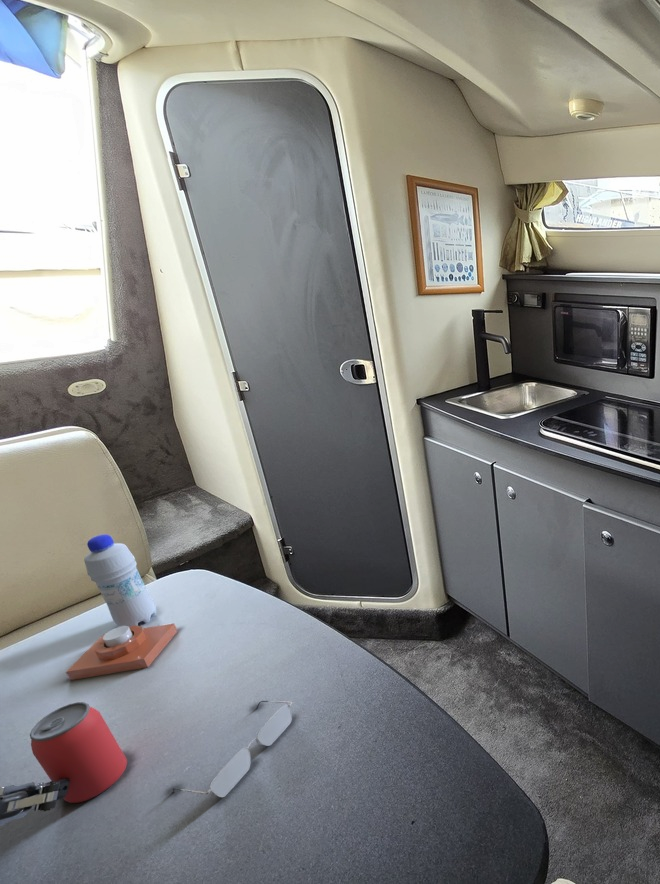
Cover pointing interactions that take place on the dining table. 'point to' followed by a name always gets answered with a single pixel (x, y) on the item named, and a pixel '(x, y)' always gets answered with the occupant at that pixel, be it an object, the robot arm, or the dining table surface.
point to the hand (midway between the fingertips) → (61, 788)
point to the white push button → (117, 636)
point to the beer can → (78, 750)
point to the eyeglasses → (243, 759)
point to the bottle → (119, 581)
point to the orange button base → (123, 652)
